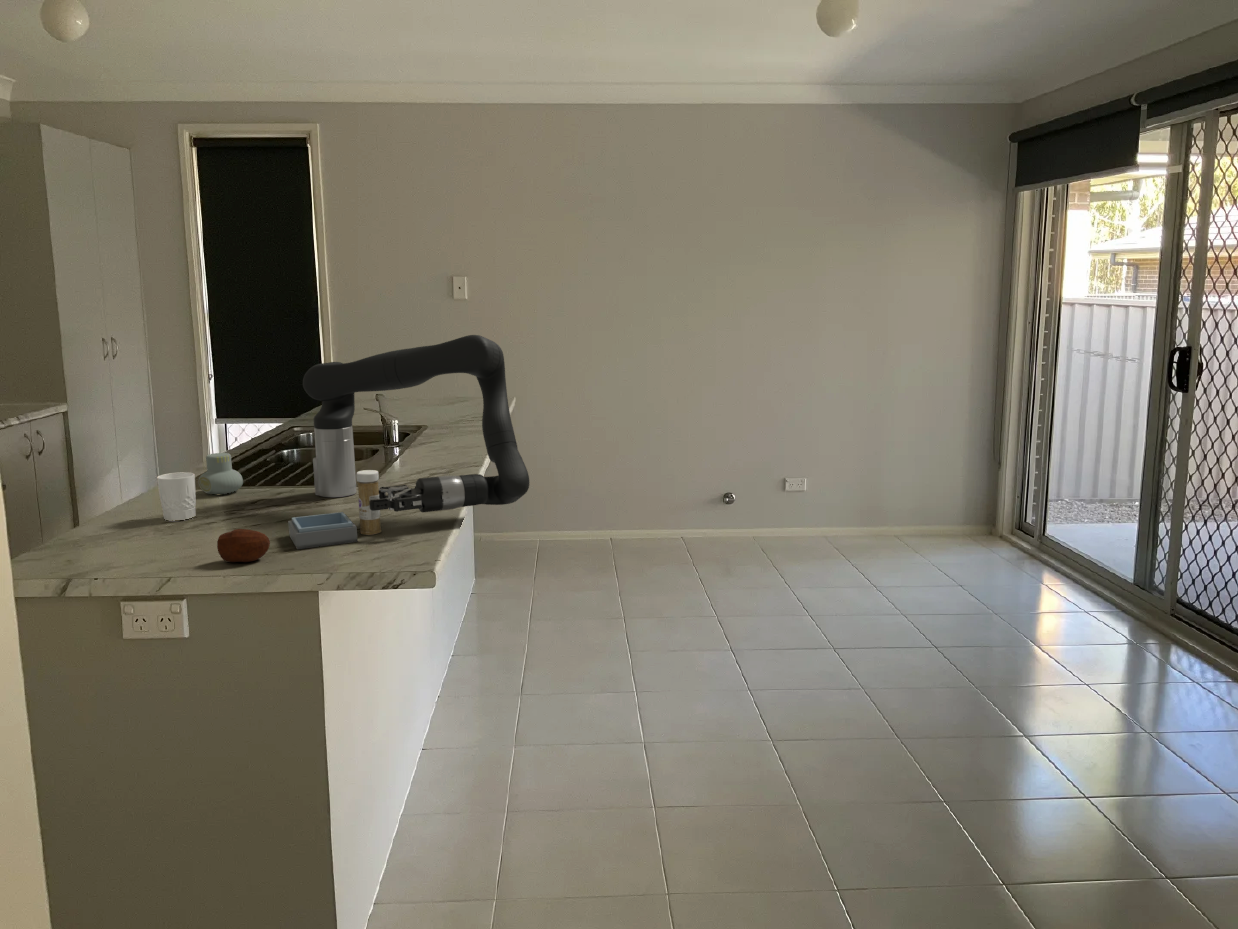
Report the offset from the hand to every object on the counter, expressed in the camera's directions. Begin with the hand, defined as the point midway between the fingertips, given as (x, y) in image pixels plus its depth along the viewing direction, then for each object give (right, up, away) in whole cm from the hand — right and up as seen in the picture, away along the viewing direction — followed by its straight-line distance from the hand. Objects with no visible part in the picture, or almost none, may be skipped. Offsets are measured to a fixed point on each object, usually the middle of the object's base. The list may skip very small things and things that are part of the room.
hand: (365, 501), depth 205 cm
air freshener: (-48, 0, +43) cm, 64 cm away
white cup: (-47, -5, +17) cm, 50 cm away
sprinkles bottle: (+1, -7, +2) cm, 7 cm away
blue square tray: (-8, -8, -3) cm, 12 cm away
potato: (-19, -11, -18) cm, 28 cm away
